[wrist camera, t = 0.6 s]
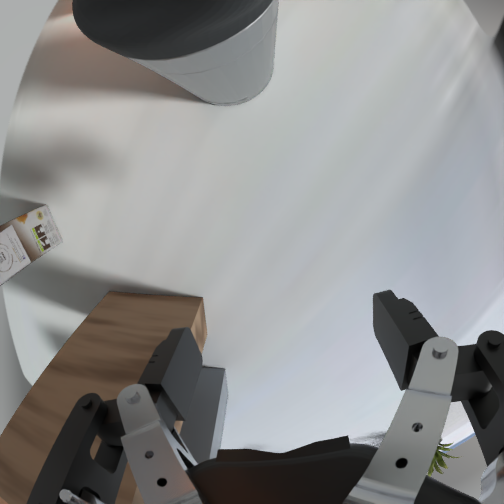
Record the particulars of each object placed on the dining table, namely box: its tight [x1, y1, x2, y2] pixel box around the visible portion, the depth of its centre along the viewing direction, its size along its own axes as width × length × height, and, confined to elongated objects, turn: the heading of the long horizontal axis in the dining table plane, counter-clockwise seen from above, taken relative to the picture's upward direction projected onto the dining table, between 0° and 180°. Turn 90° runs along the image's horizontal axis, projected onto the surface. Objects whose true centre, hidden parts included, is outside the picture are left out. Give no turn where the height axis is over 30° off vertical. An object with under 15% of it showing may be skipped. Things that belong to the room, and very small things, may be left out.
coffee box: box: [0, 205, 62, 286], centre depth 24 cm, size 9×6×16 cm
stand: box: [0, 291, 207, 504], centre depth 21 cm, size 6×14×32 cm, turn 91°
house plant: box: [428, 438, 458, 477], centre depth 40 cm, size 14×14×16 cm
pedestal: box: [179, 367, 228, 464], centre depth 31 cm, size 7×12×20 cm, turn 91°
